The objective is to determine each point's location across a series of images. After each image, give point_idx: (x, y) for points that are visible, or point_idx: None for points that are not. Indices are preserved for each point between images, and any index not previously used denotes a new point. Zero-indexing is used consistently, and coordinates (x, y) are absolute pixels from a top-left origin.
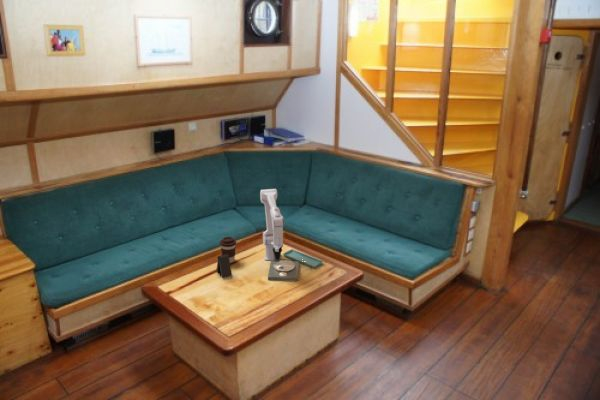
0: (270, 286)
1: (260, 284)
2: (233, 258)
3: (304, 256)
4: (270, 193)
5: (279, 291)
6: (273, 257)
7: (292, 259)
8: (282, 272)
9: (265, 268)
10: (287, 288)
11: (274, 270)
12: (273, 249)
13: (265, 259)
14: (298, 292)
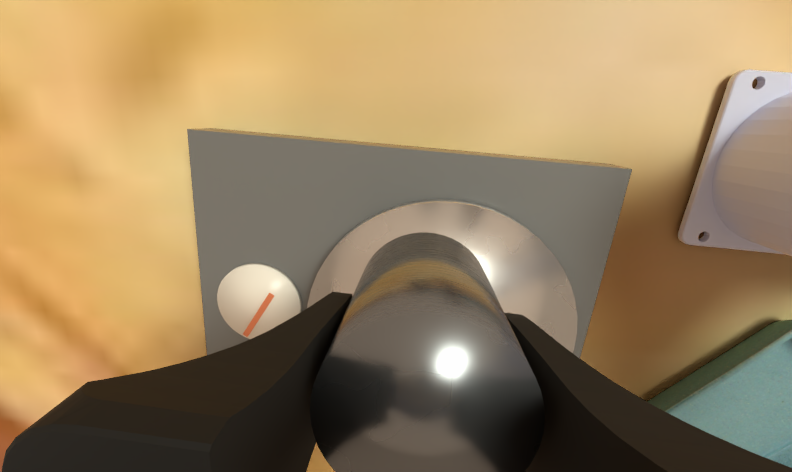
0: (86, 157)
1: (102, 39)
2: None
3: None
4: None
5: (21, 243)
6: (408, 251)
7: (658, 396)
8: (294, 300)
9: (488, 91)
10: (89, 313)
11: (352, 211)
12: (56, 468)
13: (735, 83)
14: (50, 388)
